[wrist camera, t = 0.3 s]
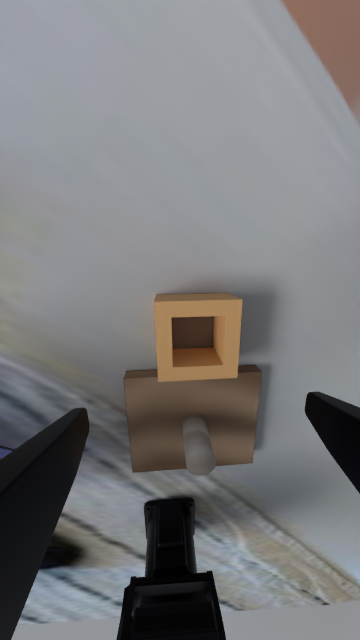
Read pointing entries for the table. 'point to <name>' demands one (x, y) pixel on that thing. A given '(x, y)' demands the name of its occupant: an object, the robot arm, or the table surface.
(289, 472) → the table surface
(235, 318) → the tan square ring
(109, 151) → the table surface
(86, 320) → the table surface
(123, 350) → the table surface
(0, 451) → the cereal box
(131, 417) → the keeper plate
